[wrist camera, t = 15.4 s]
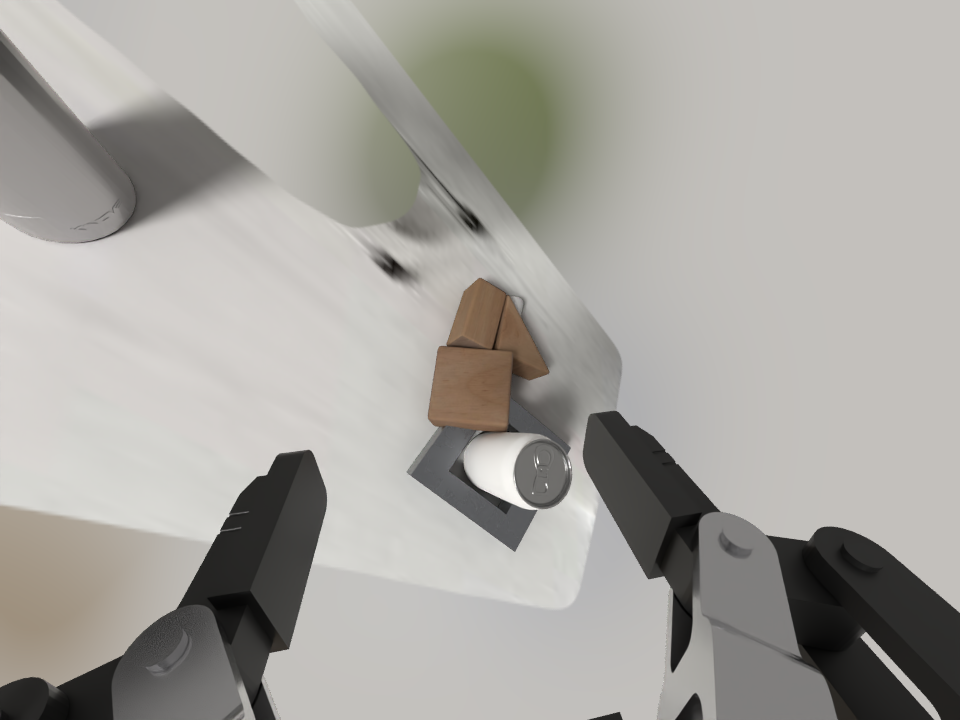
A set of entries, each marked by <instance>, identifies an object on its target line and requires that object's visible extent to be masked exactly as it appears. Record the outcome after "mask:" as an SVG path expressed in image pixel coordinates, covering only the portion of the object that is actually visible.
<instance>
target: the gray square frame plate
mask: <svg viewBox="0 0 960 720" xmlns="http://www.w3.org/2000/svg"><path fill="white" fill-rule="evenodd" d="M507 430H508V431H510V432H511V433H533V434H539V435H543V436H545V437H547V438H549V439H550V440H552V441H554V442H556V443H558V444H559V445H560V446H561V447H562V448H563V449H564V450H565V452H566V453H567V454H568V452H569V450H570V448H571V447H569V446H568V445H567V444H566V443H565V442H563V441H562V440H561V439H560V438H559V437H557V436H556V435H555V434H554V433H553V432H551V431H550V430H549V429H548V428H547V427H545V426H544V425H543V424H542V423H541V422H539V421H538V420H537V419H536V418H535V417H533V416H532V415H531V414H530V413H529V412H527V411H526V410H525V409H524V408H523V407H521V406H520V405H519V404H518V403H517V402H515V401H514V400H513V399H512V398H511V397H510V412H509V424H508V429H507ZM475 431H476V430H471V429H465V428H459V427H453V426H447V425H446V426H443V427H439V428H438V429H437V430H436V432H435V433H434V435H433V436H432V437H431V439H430V440H429V442H428V443H427V444H426V446H425V447H424V448H423V450H422V451H421V453H420V454H419V455H418V457H417V458H416V460H415V461H414V462H413V464H412V465H411V466H410V468H409V469H408V471H407V473H408V474H409V475H411V476H412V477H413V478H415V479H416V480H417V481H419V482H420V483H422V484H423V485H424V486H426V487H427V488H428V489H430V490H431V491H432V492H434V493H435V494H437V495H438V496H439V497H441V498H442V499H443V500H445V501H446V502H448V503H449V504H450V505H452V506H453V507H454V508H456V509H457V510H458V511H460V512H461V513H463V514H464V515H465V516H467V517H468V518H469V519H471V520H472V521H473V522H475V523H476V524H478V525H479V526H480V527H482V528H483V529H484V530H486V531H487V532H489V533H490V534H491V535H493V536H494V537H495V538H497V539H498V540H499V541H501V542H502V543H504V544H505V545H506V546H508V547H509V548H510V549H512V550H513V551H514V552H515V551H516V549H517V547H518V545H519V543H520V542H521V540H522V538H523V536H524V534H525V532H526V530H527V529H528V527H529V525H530V523H531V521H532V519H533V517H534V515H535V514H536V512H537V510H529V509H524V508H521V507H519V506H516V505H514V504H512V503H510V502H507V501H505V500H503V499H502V501H501V503H500V505H499V506H498V508H497V507H496V506H495V505H493V504H492V503H491V502H489V501H488V500H487V499H485V498H484V497H483V496H481V495H480V494H479V493H477V492H476V491H475V490H473V489H472V488H471V487H469V486H468V485H467V484H465V483H464V482H463V481H461V480H460V479H459V478H457V477H456V476H455V475H453V474H452V473H451V472H449V470H450V468H451V467H452V465H453V464H454V462H455V461H456V459H457V458H458V456H459V455H460V453H461V452H462V450H463V449H464V447H465V446H466V444H467V443H468V441H469V440H470V438H471V437H472V435H473V434H474V432H475Z"/></svg>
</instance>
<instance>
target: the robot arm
mask: <svg viewBox="0 0 960 720" xmlns="http://www.w3.org/2000/svg"><path fill="white" fill-rule="evenodd" d="M135 204H136V194H135V190H134V186H133V184H132V182H131V181H130V179H129V177H128V176H127V175H126V173H125V172H124V171H123V170H122V169H121V168H120V167H119V165H118V164H117V163H116V162H115V161H114V160H113V158H112V157H111V156H110V155H109V154H108V153H107V151H106V150H105V149H104V148H103V147H102V146H101V144H100V143H99V142H98V141H97V139H96V138H95V137H94V136H93V135H92V134H91V133H90V131H89V130H88V129H87V128H86V127H85V126H84V124H83V123H82V122H81V121H80V120H79V119H78V118H77V116H76V115H75V114H74V113H73V112H72V111H71V109H70V108H69V107H68V106H67V105H66V104H65V103H64V101H63V100H62V99H61V98H60V97H59V96H58V94H57V93H56V92H55V91H54V90H53V89H52V88H51V86H50V85H49V84H48V83H47V82H46V81H45V79H44V78H43V77H42V76H41V75H40V74H39V73H38V71H37V70H36V69H35V68H34V67H33V66H32V65H31V63H30V62H29V61H28V60H27V59H26V58H25V56H24V55H23V54H22V53H21V52H20V51H19V50H18V48H17V47H16V46H15V45H14V44H13V43H12V41H11V40H10V39H9V38H8V37H7V36H6V35H5V33H4V32H3V31H2V30H1V29H0V219H1V220H3V221H4V222H6V223H8V224H9V225H11V226H13V227H14V228H16V229H18V230H20V231H22V232H24V233H26V234H28V235H30V236H33V237H36V238H40V239H43V240H47V241H54V242H60V243H79V242H86V241H93V240H96V239H99V238H102V237H105V236H107V235H109V234H111V233H113V232H115V231H117V230H118V229H119V228H120V227H122V226H123V225H124V224H125V223H126V222H127V221H128V219H129V218H130V217H131V215H132V213H133V211H134V208H135ZM583 460H584V464H585V468H586V470H587V472H588V474H589V476H590V478H591V479H592V481H593V483H594V485H595V486H596V488H597V490H598V492H599V493H600V495H601V497H602V499H603V501H604V502H605V504H606V506H607V508H608V509H609V511H610V513H611V514H612V516H613V518H614V520H615V521H616V523H617V525H618V527H619V528H620V530H621V532H622V534H623V536H624V537H625V539H626V541H627V543H628V544H629V546H630V548H631V550H632V552H633V553H634V555H635V557H636V559H637V560H638V562H639V564H640V566H641V567H642V569H643V571H644V573H645V575H646V576H647V578H648V579H652V578H657V577H662V576H665V578H666V580H667V581H668V583H669V585H670V586H671V587H670V590H669V595H668V615H667V635H666V657H665V675H664V682H663V688H662V692H661V696H660V701H659V707H658V713H657V720H837V719H838V720H934V719H933V718H932V717H931V716H930V715H929V714H928V712H927V711H926V710H925V709H924V708H923V707H922V706H921V705H920V704H919V702H918V701H917V700H916V699H915V698H914V697H913V696H912V695H911V693H910V692H909V691H908V690H907V689H906V688H905V687H904V686H903V685H902V683H901V682H900V681H899V680H898V679H897V678H896V677H895V676H894V674H893V673H892V672H891V671H890V670H889V669H888V668H887V667H886V666H885V664H884V663H883V662H882V661H881V660H880V659H879V658H878V657H877V656H876V654H875V653H874V652H873V651H872V650H871V649H870V648H869V647H868V645H867V644H866V643H865V642H864V641H863V640H862V639H861V638H860V637H861V636H862V635H863V634H864V633H865V632H867V633H868V634H869V635H870V636H871V638H872V639H873V640H874V641H875V642H876V643H877V644H878V645H879V646H880V647H881V648H882V650H883V651H884V652H885V653H886V654H887V655H888V656H889V657H890V658H891V659H892V660H893V662H894V663H895V664H896V665H897V666H898V667H899V668H900V669H901V670H902V671H903V672H904V673H905V675H907V677H908V678H909V679H910V680H911V681H912V682H913V683H914V684H915V685H916V686H917V688H918V689H919V690H920V691H921V692H922V693H923V694H924V695H925V696H926V697H927V699H928V700H929V701H930V702H931V704H932V705H933V706H934V707H935V709H936V711H937V712H938V714H939V716H940V718H941V720H960V613H959V612H958V611H957V610H956V609H954V608H953V607H952V606H951V605H950V604H949V603H947V602H946V601H945V600H944V599H943V598H942V597H940V596H939V595H938V594H936V592H935V591H933V590H932V589H931V588H930V587H929V586H928V585H926V584H925V583H924V582H923V581H922V580H920V579H919V578H918V577H917V576H916V575H915V574H913V573H912V572H911V571H910V570H909V569H908V568H906V567H905V566H904V565H903V564H902V563H901V562H899V561H898V560H897V559H896V558H895V557H894V556H892V555H891V554H890V553H889V552H887V551H886V550H885V549H884V548H882V547H881V546H879V545H878V544H876V543H874V542H873V541H871V540H869V539H868V538H866V537H864V536H862V535H859V534H857V533H855V532H852V531H849V530H846V529H843V528H838V527H822V528H820V529H818V530H817V531H816V532H815V533H814V535H813V536H812V537H811V539H810V540H809V541H803V540H796V539H789V538H781V537H774V536H768V535H765V534H764V533H762V532H761V531H760V530H759V529H758V528H757V527H755V526H754V525H753V524H751V523H750V522H748V521H746V520H744V519H742V518H740V517H738V516H735V515H732V514H728V513H723V512H720V511H719V510H718V509H717V508H716V506H714V504H713V503H712V502H711V501H710V500H709V498H708V497H707V496H706V495H705V494H704V493H703V492H702V491H701V489H700V488H699V487H698V486H697V485H696V484H695V483H694V482H693V481H692V479H691V478H690V477H689V476H688V475H687V474H686V473H685V472H684V470H683V469H682V468H681V467H680V466H679V465H678V464H676V463H675V461H674V459H673V458H672V457H671V456H670V455H669V454H668V453H666V452H665V449H664V448H663V447H662V446H661V445H660V444H659V443H658V441H657V440H656V439H655V438H654V437H653V436H652V435H650V434H648V433H647V432H646V431H644V430H642V429H641V428H639V427H638V426H630V425H629V424H628V423H627V422H626V421H625V419H624V418H623V417H622V416H621V414H620V413H619V412H617V411H609V412H602V413H594V414H590V416H589V418H588V423H587V429H586V435H585V441H584V448H583ZM326 506H327V493H326V488H325V485H324V482H323V479H322V477H321V474H320V471H319V468H318V466H317V463H316V460H315V457H314V455H313V453H312V452H311V451H310V450H304V451H297V452H289V453H281V454H279V455H277V457H276V458H275V460H274V462H273V464H272V466H271V468H270V470H269V472H268V474H267V475H266V476H259V477H257V478H256V479H255V480H254V481H253V482H252V483H251V484H250V485H249V486H248V487H247V488H246V489H245V490H244V491H243V492H242V493H241V494H240V495H239V497H238V499H237V500H236V502H235V504H234V506H233V508H232V509H231V511H230V513H229V514H230V516H229V517H227V519H226V520H225V522H224V524H223V526H222V528H221V530H220V531H221V532H220V534H218V535H217V537H216V539H215V541H214V542H213V544H212V546H211V548H210V550H209V552H208V553H207V556H206V557H205V559H204V561H203V563H202V565H201V566H200V568H199V570H198V572H197V573H196V575H195V577H194V579H193V581H192V583H191V584H190V586H189V588H188V590H187V592H186V594H185V595H184V597H183V599H182V601H181V602H180V604H179V606H178V607H177V609H176V610H174V611H172V612H170V613H168V614H167V615H165V616H163V617H161V618H160V619H158V620H157V621H156V622H154V623H153V624H152V625H150V626H149V627H148V628H147V629H146V630H145V631H143V632H142V633H141V634H140V636H138V637H137V638H136V640H135V641H134V642H133V643H132V644H131V646H130V647H129V648H128V649H127V651H126V652H125V654H124V655H122V656H121V657H119V658H117V659H114V660H113V661H110V662H108V663H106V664H104V665H102V666H100V667H98V668H96V669H94V670H91V671H89V672H87V673H85V674H83V675H81V676H79V677H77V678H74V679H72V680H70V681H68V682H66V683H64V684H62V685H60V686H58V687H54V686H53V685H51V684H50V683H48V682H46V681H45V680H43V679H41V678H35V677H30V678H24V679H20V680H17V681H14V682H11V683H9V684H7V685H5V686H2V687H1V688H0V720H281V719H280V716H279V714H278V711H277V708H276V706H275V703H274V701H273V698H272V696H271V693H270V690H269V688H268V685H267V682H266V680H265V678H264V676H263V673H264V670H265V666H266V663H267V659H268V656H269V653H272V652H277V651H282V650H287V649H289V647H290V642H291V639H292V636H293V632H294V628H295V624H296V620H297V617H298V613H299V609H300V605H301V602H302V598H303V594H304V591H305V587H306V583H307V579H308V576H309V572H310V568H311V564H312V561H313V557H314V553H315V549H316V546H317V542H318V538H319V534H320V531H321V527H322V523H323V520H324V516H325V512H326ZM590 720H622V717H621V714H620V712H617V713H613V714H610V715H605V716H602V717H597V718H594V719H590Z"/></svg>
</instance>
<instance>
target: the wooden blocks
mask: <svg viewBox="0 0 960 720" xmlns="http://www.w3.org/2000/svg"><path fill="white" fill-rule="evenodd" d="M523 304H524V303H523V300H522V299H521V298H519V297H516V296H509V295H507V296H506V293H505V292H503V291H502V290H500V289H498V288H497V287H495V286H493V285H492V284H490V283H489V282H487V281H485V280H484V279H482V278H479V279H478V280H476V281H475V282H474V283H473V284H472V285H471V286H470V287H469V288H467V289H466V290H465V291H464V293H463V296H462V299H461V302H460V305H459V308H458V311H457V314H456V317H455V320H454V323H453V326H452V329H451V332H450V335H449V339H448V342H447V346H439V348H438V352H437V358H436V365H435V371H434V378H433V385H432V391H431V398H430V404H429V411H428V419H429V420H430V421H431V423H432V424H433V425H434V426H437V427H443V426H446V425H447V426H453V427H459V428H465V429H471V430H481V431H492V432H506V431H507V429H508V424H509V412H510V397H511V382H512V373H513V374H515V375H518V376H520V377H522V378H525V379H527V380H532V379H535V378H538V377H541V376H544V375H546V374H549V370H548V368H547V366H546V364H545V362H544V360H543V358H542V356H541V355H540V353H539V351H538V349H537V347H536V345H535V343H534V341H533V339H532V337H531V335H530V334H529V332H528V330H527V328H526V326H525V324H524V322H523V320H522V318H521V313H522V309H523Z"/></svg>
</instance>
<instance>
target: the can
mask: <svg viewBox="0 0 960 720" xmlns="http://www.w3.org/2000/svg"><path fill="white" fill-rule="evenodd" d="M464 469H465V473H466V475H467V477H468V479H469V480H470V481H471V482H472V483H473V484H474V485H475V486H476V487H478V488H480V489H482V490H484V491H486V492H488V493H490V494H492V495H494V496H497V497H499V498H501V499H503V500H505V501H507V502H510V503H512V504H514V505H516V506H519V507H521V508H524V509H529V510H538V509H548V508H551V507H554V506H556V505H557V504H559V503H560V502H561V501H562V500H563V499H564V497H565V496H566V494H567V493H568V491H569V488H570V485H571V481H572V467H571V462H570V459H569V457H568V455H567V453H566V452H565V450H564V449H563V448H562V447H561V446H560V445H559V444H558V443H556V442H554V441H552V440H550V439H549V438H547V437H545V436H543V435H539V434H533V433H511V432H486V433H482V434H480V435H478V436H476V437H475V438H474V439H473V440H472V441H471V442H470V443H469V445H468V447H467V449H466V451H465V454H464Z"/></svg>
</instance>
